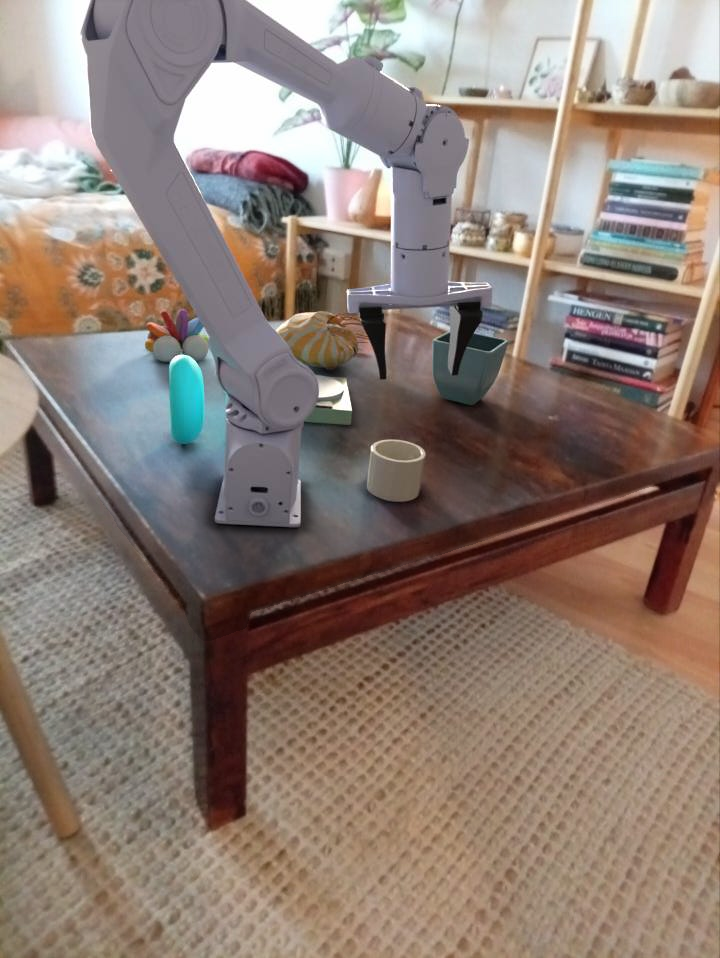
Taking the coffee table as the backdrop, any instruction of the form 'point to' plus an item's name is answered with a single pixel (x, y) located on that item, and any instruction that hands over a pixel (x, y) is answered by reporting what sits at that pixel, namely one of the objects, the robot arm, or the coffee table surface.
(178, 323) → the rainbow peacock toy
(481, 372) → the flower pot
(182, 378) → the teal upright capsule
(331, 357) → the nautilus
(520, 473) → the coffee table surface
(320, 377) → the scale
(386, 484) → the white cup
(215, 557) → the coffee table surface
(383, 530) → the coffee table surface
